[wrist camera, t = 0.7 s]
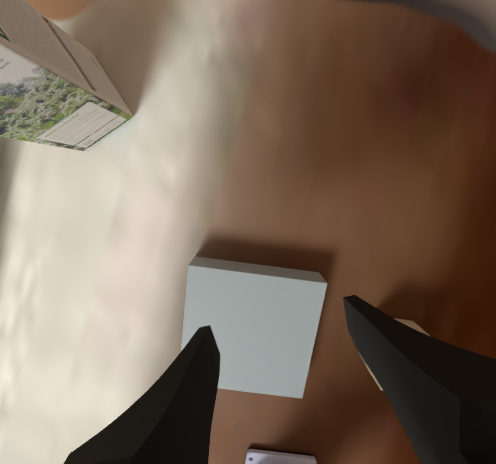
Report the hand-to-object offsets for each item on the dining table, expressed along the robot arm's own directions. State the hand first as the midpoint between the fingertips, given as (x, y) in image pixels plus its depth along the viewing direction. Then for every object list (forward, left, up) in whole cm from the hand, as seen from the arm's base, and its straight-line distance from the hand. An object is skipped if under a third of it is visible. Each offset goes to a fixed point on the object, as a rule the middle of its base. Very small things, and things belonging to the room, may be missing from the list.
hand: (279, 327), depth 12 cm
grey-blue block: (-6, +1, -11) cm, 13 cm away
